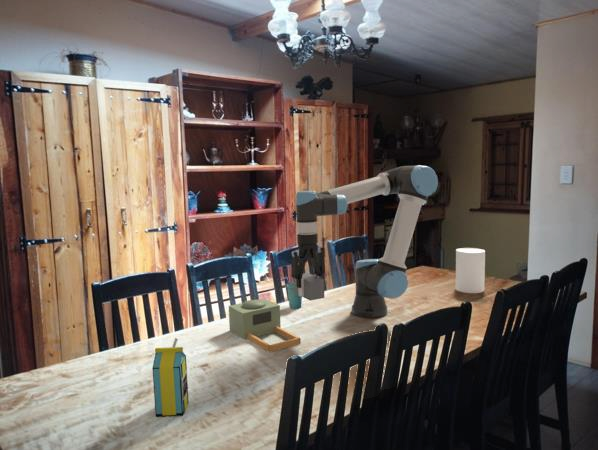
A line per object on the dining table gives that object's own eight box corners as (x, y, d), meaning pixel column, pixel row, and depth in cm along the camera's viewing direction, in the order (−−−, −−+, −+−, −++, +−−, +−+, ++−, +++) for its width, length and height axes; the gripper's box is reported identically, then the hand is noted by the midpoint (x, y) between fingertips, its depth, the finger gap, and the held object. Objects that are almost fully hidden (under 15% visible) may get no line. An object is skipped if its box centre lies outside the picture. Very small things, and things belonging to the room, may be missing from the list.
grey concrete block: (307, 290, 178) (307, 272, 177) (324, 297, 168) (324, 279, 167) (294, 292, 175) (293, 275, 174) (310, 300, 165) (309, 281, 164)
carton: (190, 400, 126) (186, 337, 123) (184, 415, 118) (180, 348, 116) (162, 401, 125) (158, 338, 123) (155, 417, 118) (150, 349, 115)
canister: (449, 288, 233) (450, 249, 231) (469, 284, 239) (470, 247, 237) (469, 294, 221) (470, 253, 219) (490, 290, 227) (491, 251, 224)
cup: (286, 313, 200) (285, 279, 198) (276, 309, 206) (275, 276, 204) (311, 306, 208) (310, 274, 206) (300, 303, 214) (299, 271, 213)
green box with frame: (265, 322, 189) (264, 296, 187) (304, 342, 166) (303, 312, 164) (229, 330, 180) (228, 303, 178) (265, 353, 157) (264, 322, 155)
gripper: (322, 229, 177) (323, 287, 180) (279, 234, 166) (281, 296, 169) (334, 231, 171) (335, 291, 173) (290, 237, 160) (293, 301, 163)
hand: (309, 294), depth 171 cm, fingers closed on grey concrete block, 6 cm apart
